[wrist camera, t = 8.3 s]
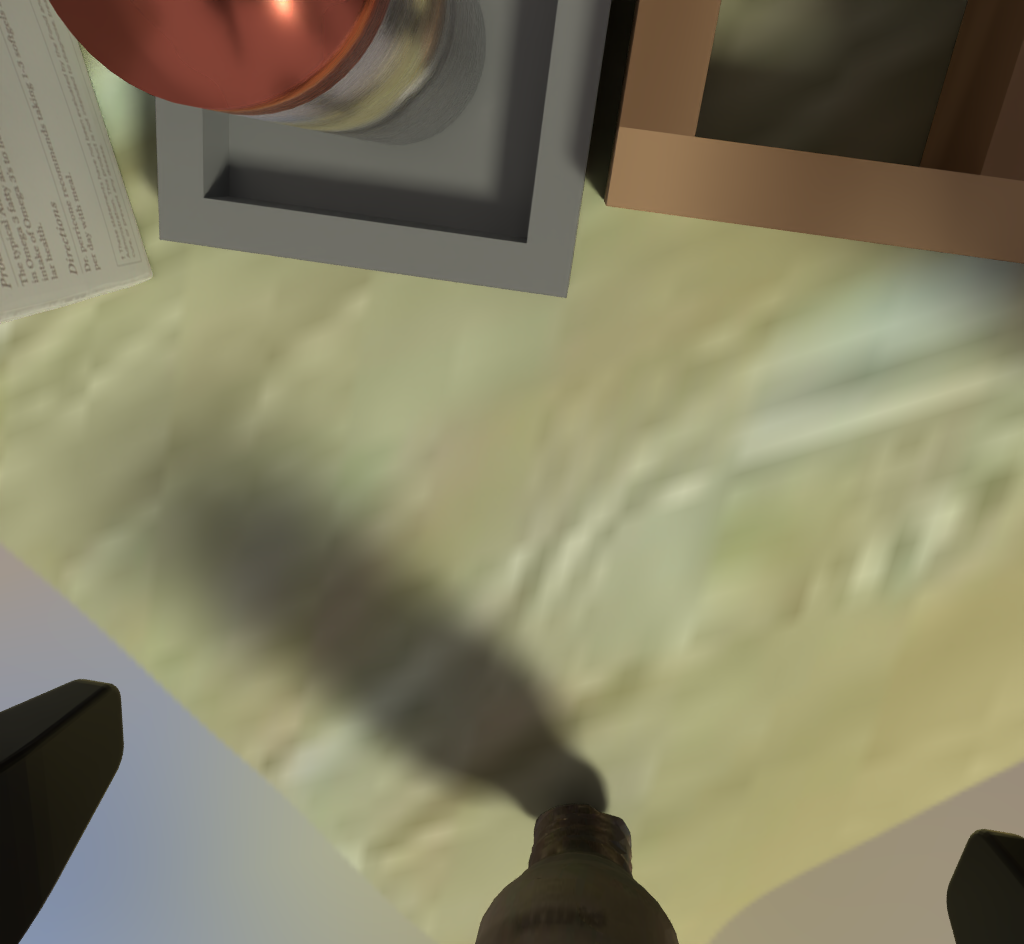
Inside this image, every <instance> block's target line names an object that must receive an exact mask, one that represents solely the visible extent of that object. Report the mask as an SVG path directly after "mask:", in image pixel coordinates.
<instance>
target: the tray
mask: <svg viewBox="0 0 1024 944" xmlns="http://www.w3.org/2000/svg"><path fill="white" fill-rule="evenodd" d="M479 3H480V6H481V10H482V13H483V18H484V23H485V32H486V55H485V62H484V68H483V72H482V75H481V79H480V82H479V84H478V87H477V89H476V91H475V94H474V96H473V97H472V99H471V101H470V103H469V104H468V106H467V107H466V108H465V110H464V111H463V112H462V114H461V115H460V116H459V117H458V118H457V119H456V120H455V121H454V122H453V123H452V124H451V125H450V126H448V127H447V128H446V129H444V130H443V131H442V132H440V133H438V134H436V135H435V136H433V137H431V138H428V139H426V140H423V141H421V142H416V143H412V144H406V145H386V144H381V143H376V142H371V141H366V140H360V139H355V138H350V137H345V136H340V135H335V134H330V133H325V132H320V131H315V130H309V129H304V128H299V127H294V126H289V125H284V124H279V123H274V122H269V121H264V120H259V119H253V118H248V117H243V116H238V115H233V114H228V113H223V112H218V111H213V110H208V109H203V108H197V107H192V106H187V105H182V104H177V103H173V102H170V101H167V100H164V99H161V98H159V97H156V96H155V105H156V138H157V170H158V202H159V235H160V240H167V241H174V242H181V243H188V244H195V245H201V246H208V247H215V248H222V249H229V250H236V251H243V252H250V253H257V254H264V255H271V256H278V257H285V258H292V259H299V260H306V261H313V262H320V263H327V264H334V265H341V266H348V267H355V268H362V269H369V270H376V271H383V272H390V273H397V274H404V275H411V276H417V277H424V278H431V279H438V280H445V281H452V282H459V283H466V284H473V285H480V286H487V287H494V288H501V289H508V290H515V291H522V292H529V293H536V294H543V295H550V296H557V297H564V298H567V293H568V287H569V281H570V274H571V268H572V261H573V254H574V248H575V241H576V235H577V228H578V221H579V215H580V208H581V201H582V195H583V188H584V182H585V175H586V168H587V162H588V155H589V148H590V142H591V135H592V129H593V122H594V115H595V109H596V102H597V95H598V89H599V82H600V76H601V69H602V62H603V56H604V49H605V42H606V36H607V29H608V23H609V16H610V9H611V3H612V0H479Z"/></svg>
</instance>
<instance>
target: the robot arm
mask: <svg viewBox="0 0 1024 944" xmlns="http://www.w3.org/2000/svg"><path fill="white" fill-rule="evenodd" d="M123 748H124V741H123V725H122V708H121V696H120V692H119V690H118V688H117V687H116V686H114V685H113V684H110V683H104V682H97V681H92V680H86V679H78V680H74V681H71V682H69V683H66V684H64V685H62V686H60V687H57V688H55V689H53V690H50V691H48V692H46V693H43V694H41V695H39V696H37V697H34V698H32V699H29V700H27V701H25V702H23V703H20V704H18V705H16V706H13V707H11V708H9V709H6V710H4V711H2V712H0V944H18V943H19V942H20V941H21V939H22V938H23V936H24V934H25V933H26V932H27V930H28V929H29V927H30V925H31V924H32V922H33V921H34V919H35V918H36V916H37V915H38V913H39V911H40V910H41V908H42V907H43V905H44V903H45V901H46V900H47V898H48V896H49V895H50V893H51V891H52V890H53V888H54V886H55V884H56V882H57V881H58V879H59V877H60V875H61V873H62V871H63V870H64V868H65V866H66V864H67V862H68V860H69V858H70V857H71V855H72V853H73V851H74V849H75V848H76V846H77V844H78V842H79V840H80V838H81V837H82V835H83V833H84V830H85V829H86V827H87V825H88V824H89V822H90V820H91V818H92V816H93V814H94V813H95V811H96V809H97V807H98V805H99V803H100V801H101V799H102V798H103V796H104V794H105V792H106V790H107V788H108V787H109V785H110V783H111V781H112V779H113V777H114V776H115V774H116V772H117V770H118V768H119V765H120V762H121V759H122V755H123ZM947 910H948V914H949V919H950V922H951V926H952V930H953V934H954V937H955V941H956V944H1024V838H1023V837H1021V836H1019V835H1016V834H1012V833H1005V832H1000V831H994V830H987V829H981V830H977V831H975V832H974V833H973V834H972V835H971V836H970V838H969V840H968V842H967V844H966V846H965V848H964V851H963V853H962V855H961V858H960V860H959V862H958V865H957V867H956V869H955V871H954V874H953V876H952V878H951V881H950V883H949V886H948V890H947Z"/></svg>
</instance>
